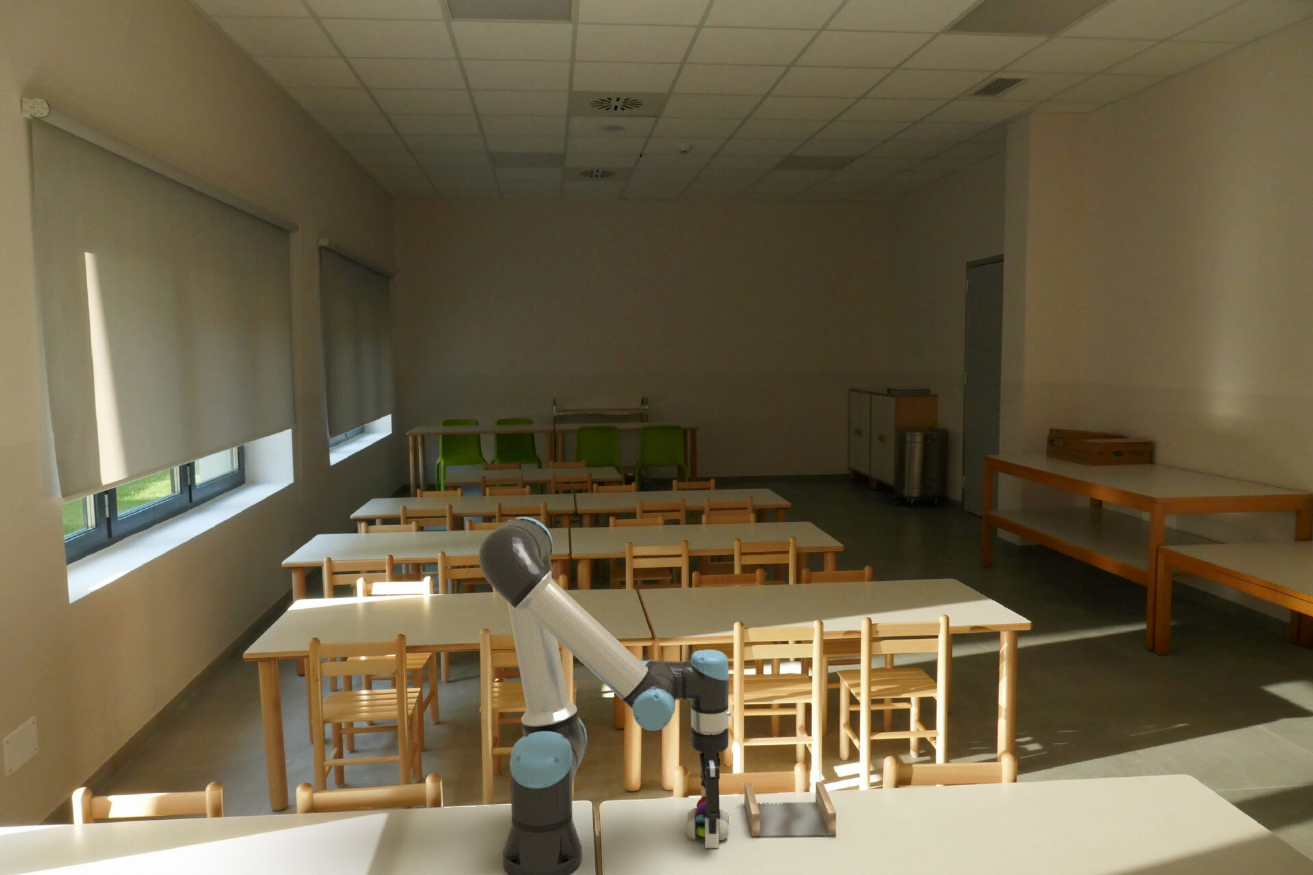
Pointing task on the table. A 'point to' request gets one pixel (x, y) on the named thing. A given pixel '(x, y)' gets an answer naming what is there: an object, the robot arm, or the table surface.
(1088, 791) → the table surface
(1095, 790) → the table surface
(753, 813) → the bay
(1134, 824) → the table surface
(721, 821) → the rainbow petal toy
